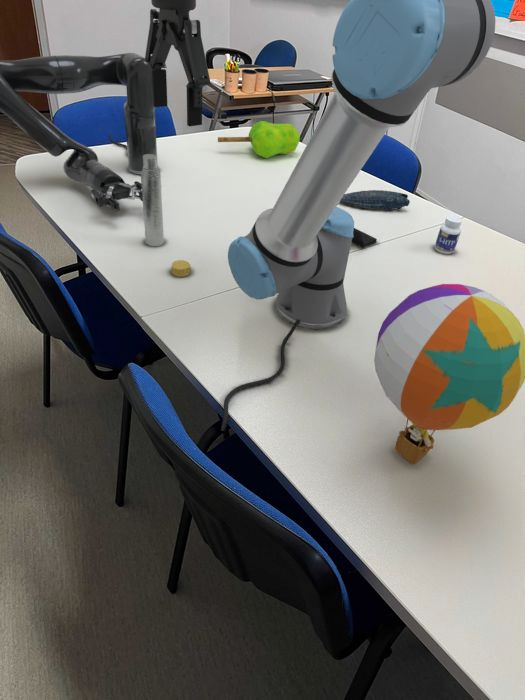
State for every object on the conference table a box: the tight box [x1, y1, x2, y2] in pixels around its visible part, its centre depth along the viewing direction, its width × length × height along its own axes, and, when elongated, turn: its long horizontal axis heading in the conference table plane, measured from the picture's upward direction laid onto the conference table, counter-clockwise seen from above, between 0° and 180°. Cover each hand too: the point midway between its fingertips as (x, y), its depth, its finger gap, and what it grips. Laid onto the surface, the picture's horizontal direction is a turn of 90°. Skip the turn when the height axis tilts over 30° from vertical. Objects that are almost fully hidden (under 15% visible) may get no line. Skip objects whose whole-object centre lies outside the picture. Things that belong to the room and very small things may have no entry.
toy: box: [373, 283, 525, 466], centre depth 73 cm, size 20×20×30 cm
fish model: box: [339, 189, 411, 211], centre depth 158 cm, size 7×21×5 cm, turn 84°
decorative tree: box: [217, 120, 301, 159], centre depth 187 cm, size 18×10×30 cm
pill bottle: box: [434, 215, 463, 255], centre depth 137 cm, size 5×5×9 cm
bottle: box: [140, 154, 165, 247], centre depth 125 cm, size 4×4×22 cm
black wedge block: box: [351, 227, 378, 249], centre depth 139 cm, size 12×7×10 cm
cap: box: [171, 259, 191, 278], centre depth 121 cm, size 4×4×2 cm
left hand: (133, 203), depth 134 cm, fingers open, 8 cm apart
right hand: (176, 115), depth 100 cm, fingers open, 13 cm apart
